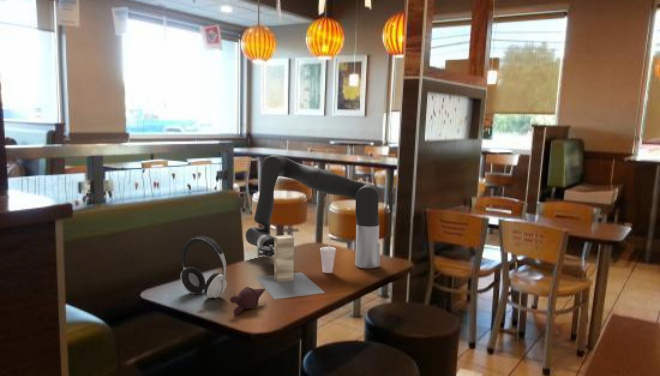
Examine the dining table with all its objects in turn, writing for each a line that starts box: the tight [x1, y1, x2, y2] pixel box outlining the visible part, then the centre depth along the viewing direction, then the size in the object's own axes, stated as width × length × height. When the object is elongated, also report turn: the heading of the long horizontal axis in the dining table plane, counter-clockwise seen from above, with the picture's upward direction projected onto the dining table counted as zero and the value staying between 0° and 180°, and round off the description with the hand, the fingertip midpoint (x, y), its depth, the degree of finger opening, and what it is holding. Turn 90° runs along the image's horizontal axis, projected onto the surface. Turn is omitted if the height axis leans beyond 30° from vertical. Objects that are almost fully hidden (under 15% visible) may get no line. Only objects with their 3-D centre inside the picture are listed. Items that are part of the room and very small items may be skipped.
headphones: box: [180, 235, 228, 299], centre depth 162 cm, size 19×8×20 cm, turn 60°
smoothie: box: [319, 237, 337, 274], centre depth 190 cm, size 6×6×14 cm
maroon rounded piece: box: [229, 286, 266, 316], centre depth 154 cm, size 7×7×15 cm
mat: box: [255, 272, 326, 300], centre depth 175 cm, size 24×18×1 cm
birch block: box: [273, 234, 295, 282], centre depth 179 cm, size 4×6×16 cm
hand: (281, 255), depth 182 cm, fingers closed
